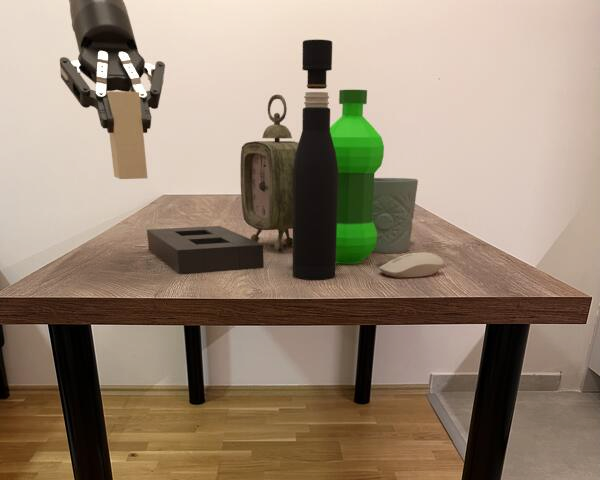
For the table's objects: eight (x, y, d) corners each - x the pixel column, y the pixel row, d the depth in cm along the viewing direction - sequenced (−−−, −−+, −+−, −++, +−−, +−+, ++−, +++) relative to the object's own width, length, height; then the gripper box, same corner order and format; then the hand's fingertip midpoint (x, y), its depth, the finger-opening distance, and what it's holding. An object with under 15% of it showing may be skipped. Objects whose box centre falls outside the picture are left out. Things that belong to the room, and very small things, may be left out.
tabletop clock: (242, 243, 122) (237, 95, 111) (284, 239, 126) (284, 97, 115) (274, 255, 110) (272, 92, 100) (319, 251, 114) (322, 93, 103)
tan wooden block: (119, 179, 82) (109, 91, 78) (114, 176, 86) (104, 92, 82) (147, 178, 83) (139, 91, 79) (141, 176, 87) (132, 93, 83)
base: (179, 274, 96) (177, 250, 94) (148, 249, 115) (146, 229, 113) (263, 267, 101) (263, 244, 99) (221, 245, 120) (220, 225, 118)
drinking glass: (381, 255, 110) (385, 181, 105) (346, 247, 118) (348, 178, 113) (424, 250, 115) (430, 179, 110) (388, 243, 123) (392, 176, 118)
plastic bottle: (386, 265, 102) (398, 89, 91) (323, 267, 100) (327, 87, 89) (368, 254, 111) (376, 92, 100) (309, 256, 109) (311, 91, 98)
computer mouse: (373, 272, 98) (374, 252, 96) (429, 267, 101) (431, 248, 99) (392, 279, 93) (393, 258, 91) (450, 275, 96) (452, 254, 94)
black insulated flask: (343, 277, 94) (352, 40, 81) (306, 281, 91) (309, 36, 78) (320, 269, 99) (324, 45, 86) (284, 273, 96) (283, 42, 83)
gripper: (44, -5, 79) (68, 102, 75) (157, 3, 84) (186, 104, 80) (48, 49, 86) (71, 150, 81) (153, 54, 91) (180, 149, 86)
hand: (128, 127), depth 80 cm, fingers closed on tan wooden block, 3 cm apart
